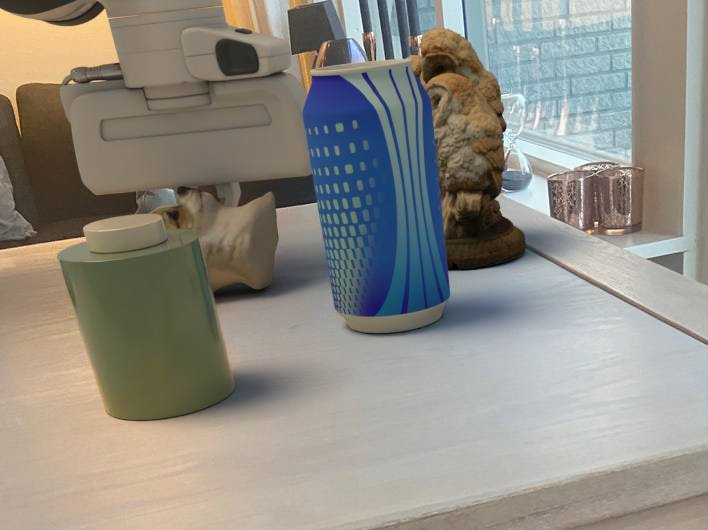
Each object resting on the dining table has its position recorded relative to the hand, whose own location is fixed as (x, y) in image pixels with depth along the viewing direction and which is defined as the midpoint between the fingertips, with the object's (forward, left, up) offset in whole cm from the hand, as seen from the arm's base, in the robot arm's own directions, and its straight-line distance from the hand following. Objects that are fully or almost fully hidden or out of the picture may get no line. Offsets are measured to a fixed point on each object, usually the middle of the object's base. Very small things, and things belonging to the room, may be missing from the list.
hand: (219, 240), depth 83 cm
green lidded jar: (+6, -30, -3) cm, 31 cm away
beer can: (+18, -16, -3) cm, 24 cm away
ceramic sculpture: (0, -5, -3) cm, 6 cm away
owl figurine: (+20, +5, -3) cm, 21 cm away
